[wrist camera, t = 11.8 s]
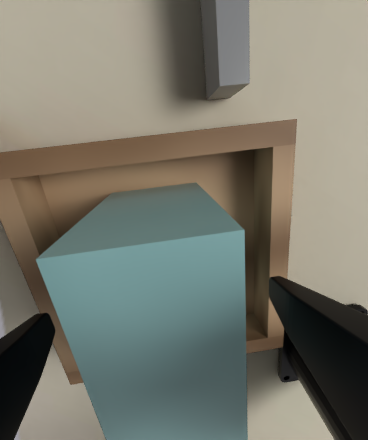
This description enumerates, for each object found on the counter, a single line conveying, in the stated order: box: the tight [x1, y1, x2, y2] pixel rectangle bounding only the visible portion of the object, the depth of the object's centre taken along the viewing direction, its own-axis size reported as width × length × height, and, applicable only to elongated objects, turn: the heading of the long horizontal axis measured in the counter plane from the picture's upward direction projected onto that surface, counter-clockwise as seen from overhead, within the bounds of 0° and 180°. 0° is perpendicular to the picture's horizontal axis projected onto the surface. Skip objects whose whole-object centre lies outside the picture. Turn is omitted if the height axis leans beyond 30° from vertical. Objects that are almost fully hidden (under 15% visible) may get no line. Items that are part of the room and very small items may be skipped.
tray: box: [0, 119, 297, 385], centre depth 12 cm, size 13×13×3 cm
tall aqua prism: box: [36, 182, 248, 440], centre depth 9 cm, size 9×4×7 cm, turn 6°
